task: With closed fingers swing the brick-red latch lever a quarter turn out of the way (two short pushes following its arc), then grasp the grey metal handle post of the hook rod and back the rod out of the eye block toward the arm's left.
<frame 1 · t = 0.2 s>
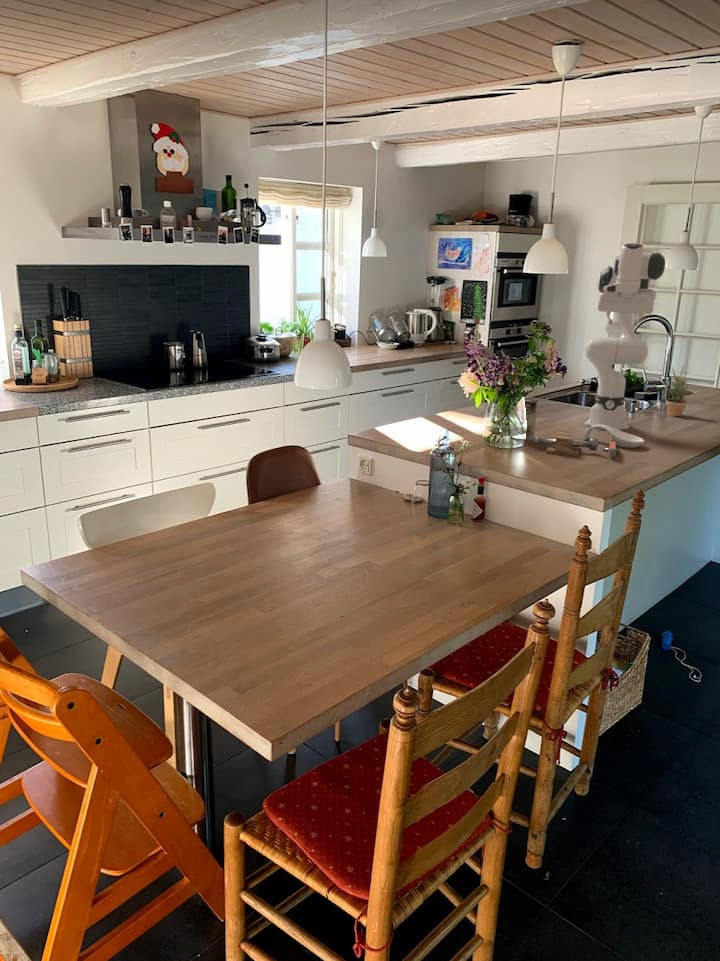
hand: (622, 324, 293), 48 cm above the table, fingers open, 8 cm apart
coffee box: (522, 438, 312), on the table
spoon rest: (612, 444, 307), on the table
eye block: (563, 450, 295), on the table
latch lever: (612, 449, 289), point 3 cm above the table, hinge at 0.0°
potted plant: (674, 415, 364), on the table
lever base: (611, 450, 297), on the table
hook rod: (565, 441, 294), point 3 cm above the table, slide at 0.0 cm
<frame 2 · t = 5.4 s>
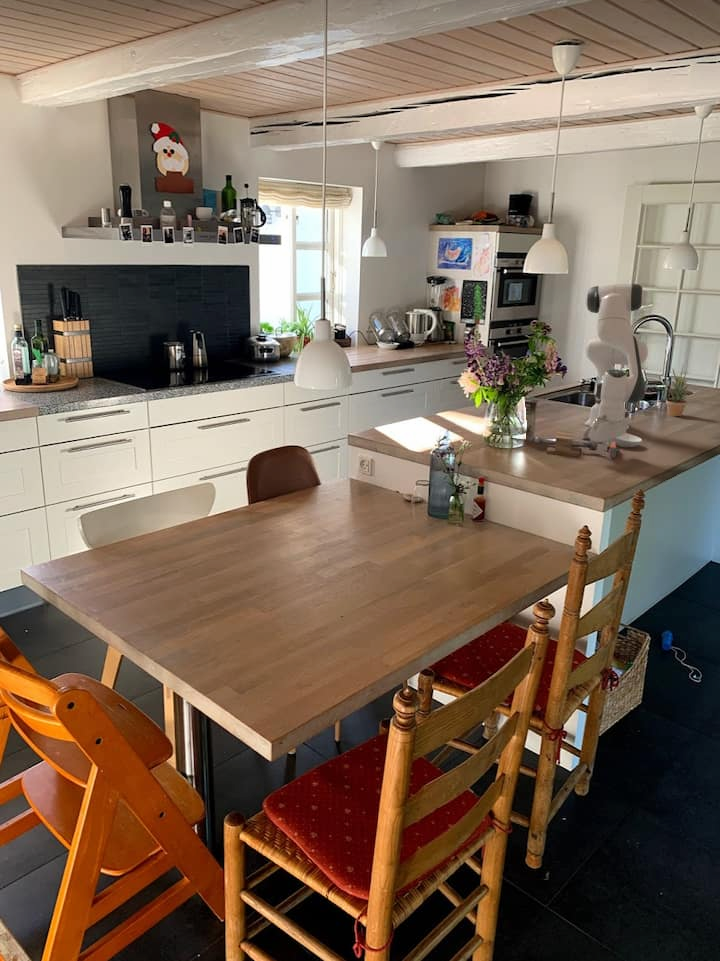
hand: (606, 450, 286), 3 cm above the table, fingers closed
latch lever: (612, 449, 289), point 3 cm above the table, hinge at 0.5°, touching gripper
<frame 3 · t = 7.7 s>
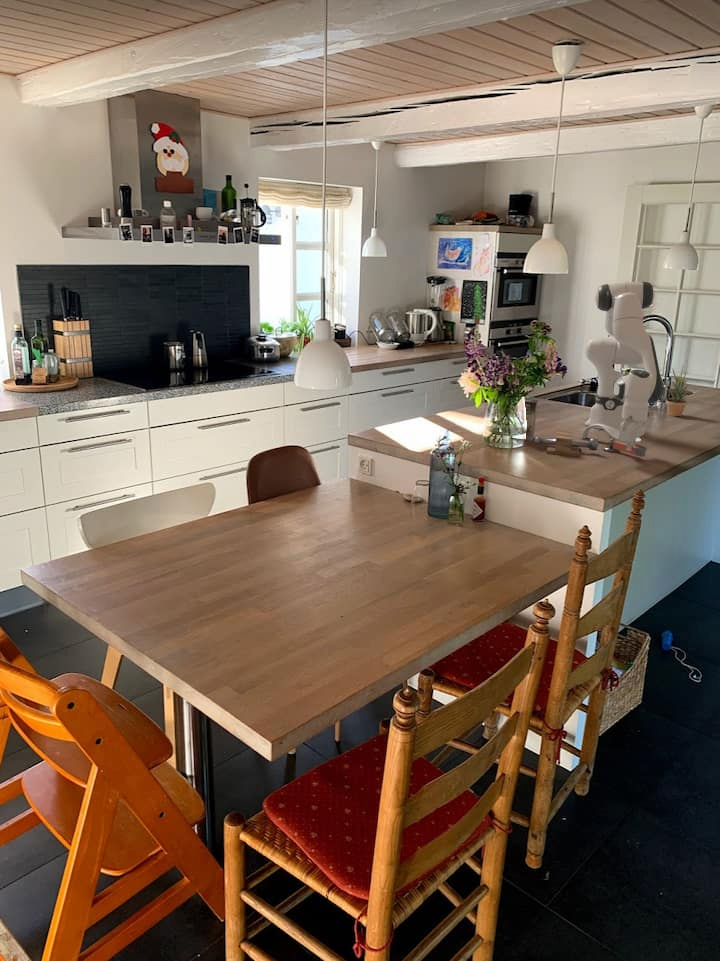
hand: (629, 450, 286), 3 cm above the table, fingers closed
latch lever: (628, 448, 289), point 3 cm above the table, hinge at 48.2°, touching gripper
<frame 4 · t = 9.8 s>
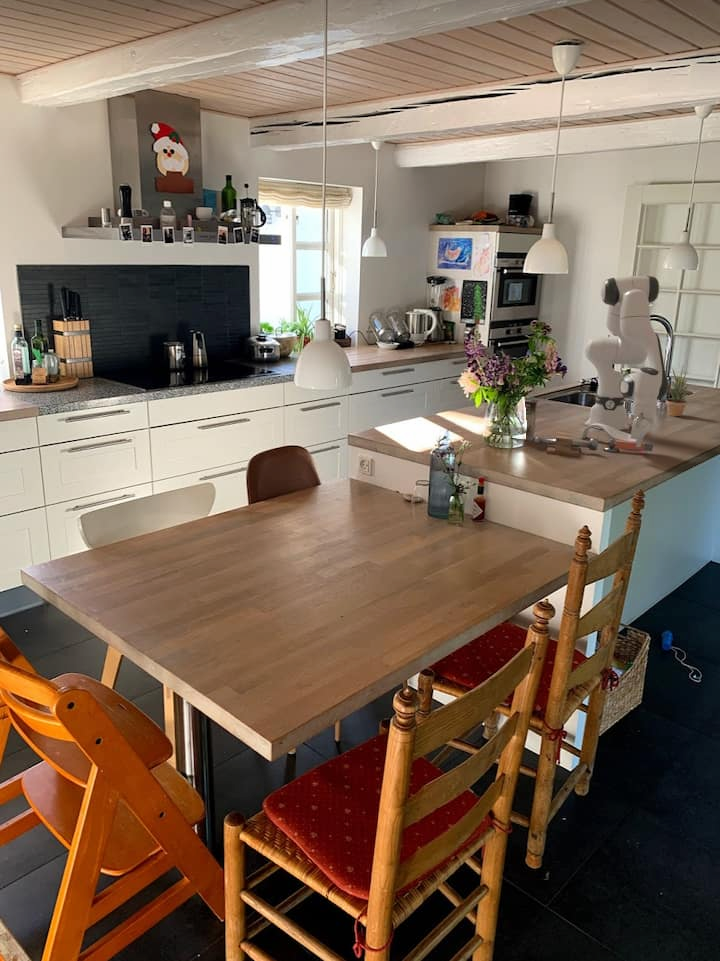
hand: (638, 446, 292), 3 cm above the table, fingers closed
latch lever: (633, 445, 294), point 3 cm above the table, hinge at 92.7°, touching gripper
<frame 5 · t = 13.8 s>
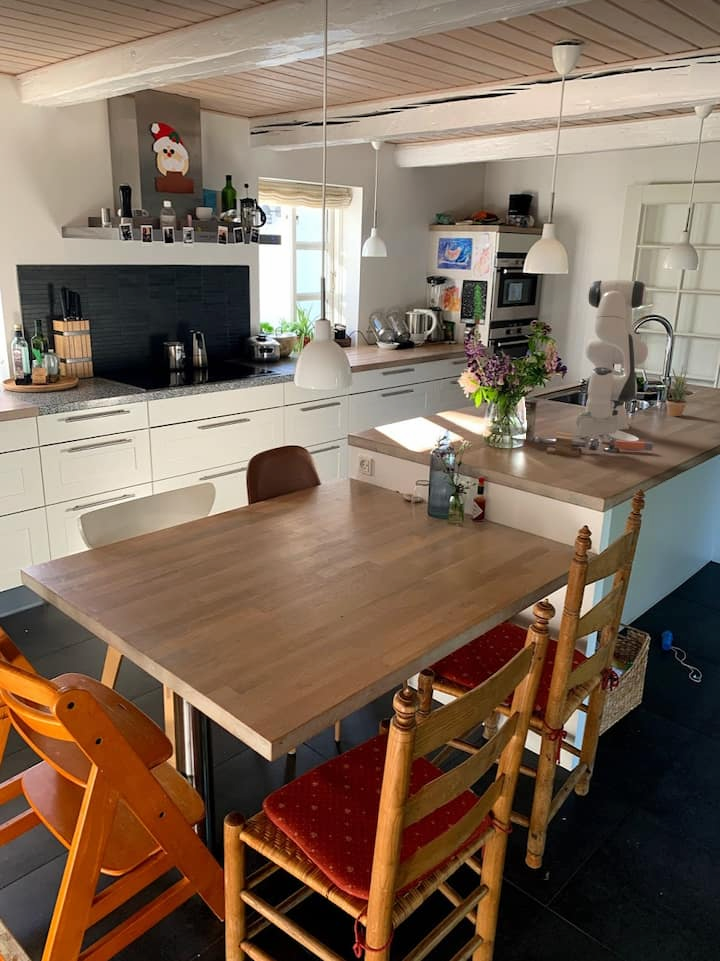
hand: (593, 446, 291), 3 cm above the table, fingers open, 4 cm apart
latch lever: (633, 445, 295), point 3 cm above the table, hinge at 96.5°
hook rod: (565, 441, 294), point 3 cm above the table, slide at 0.0 cm, touching gripper
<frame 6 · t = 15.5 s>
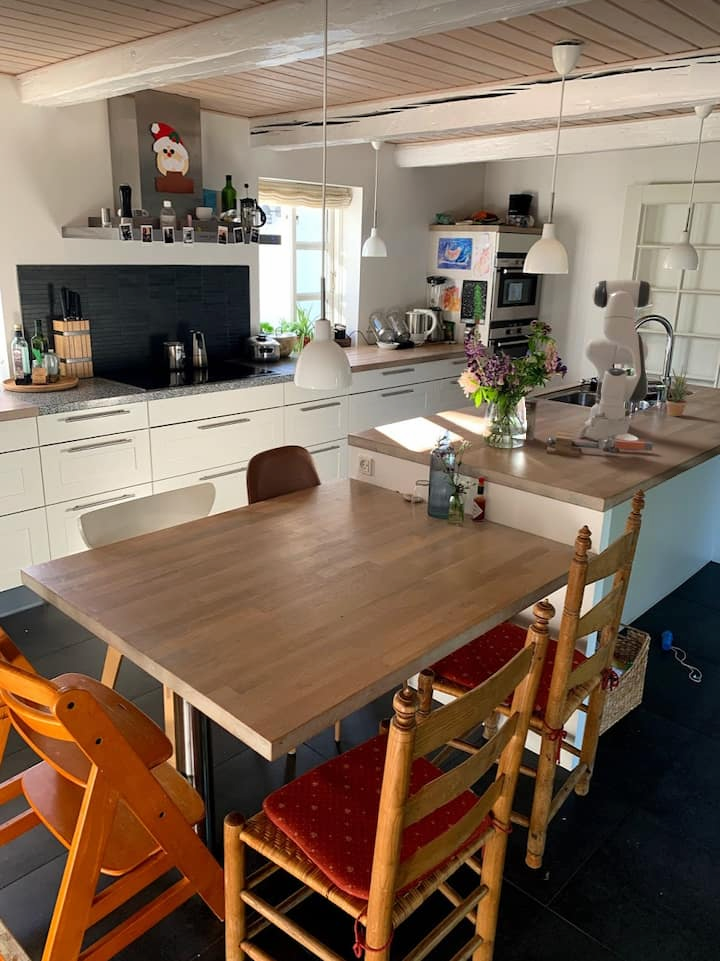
hand: (606, 447, 290), 3 cm above the table, fingers closed on hook rod, 4 cm apart
hook rod: (578, 443, 292), point 3 cm above the table, slide at 5.0 cm, touching gripper
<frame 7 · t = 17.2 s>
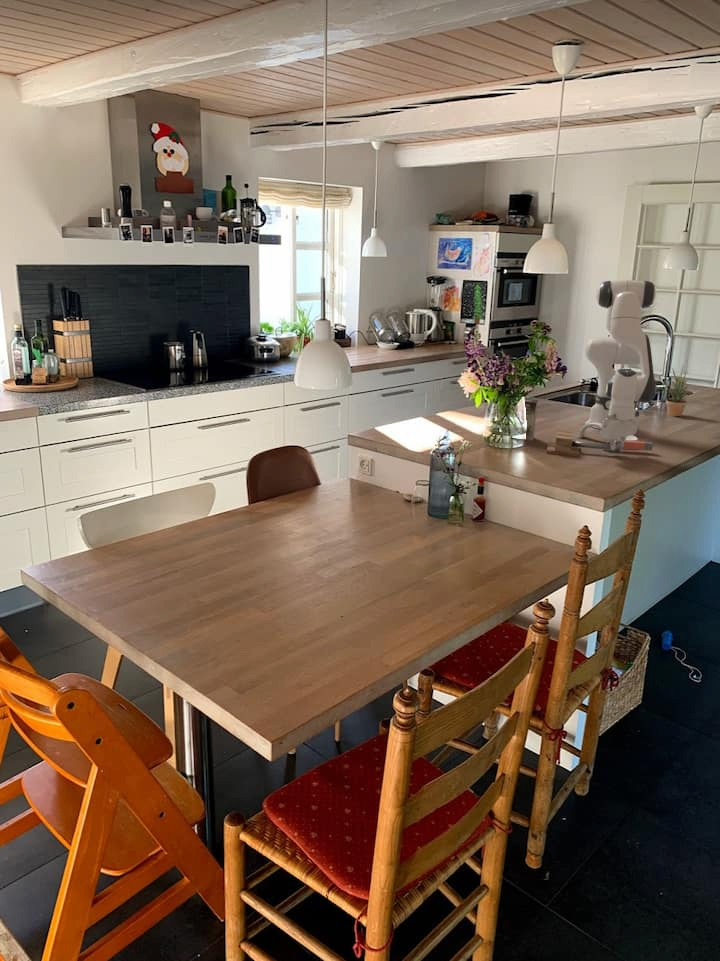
hand: (616, 448, 289), 3 cm above the table, fingers closed on hook rod, 3 cm apart
hook rod: (588, 444, 291), point 3 cm above the table, slide at 8.6 cm, touching gripper
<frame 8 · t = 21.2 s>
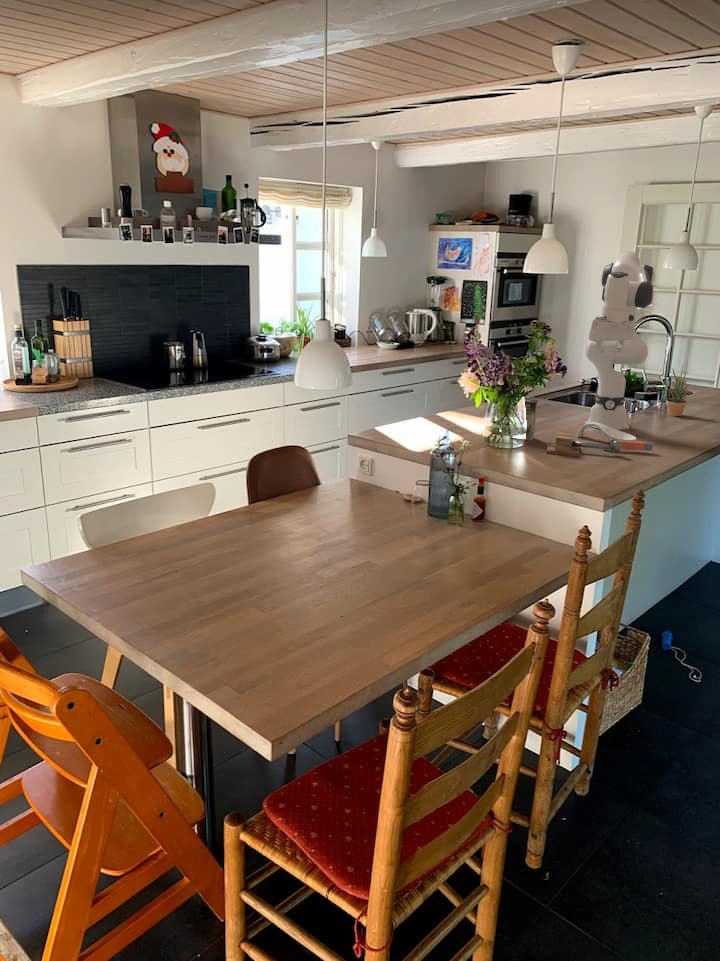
hand: (609, 352, 293), 37 cm above the table, fingers open, 8 cm apart
hook rod: (588, 444, 291), point 3 cm above the table, slide at 8.6 cm
at the end: latch lever at +96° (first picture: +0°); hook rod slide at 8.6 cm; the gripper is holding nothing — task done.
